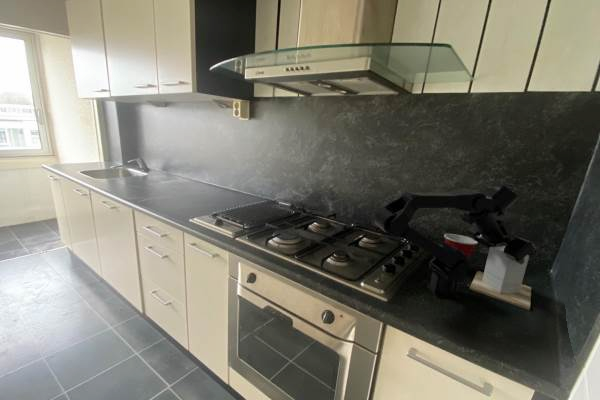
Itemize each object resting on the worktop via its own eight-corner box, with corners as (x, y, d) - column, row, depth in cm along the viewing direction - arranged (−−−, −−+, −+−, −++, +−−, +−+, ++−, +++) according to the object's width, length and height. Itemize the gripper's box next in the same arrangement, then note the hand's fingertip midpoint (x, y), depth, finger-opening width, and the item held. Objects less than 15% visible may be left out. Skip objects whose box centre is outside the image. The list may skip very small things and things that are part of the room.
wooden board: (529, 310, 78) (530, 307, 78) (469, 288, 87) (469, 286, 87) (530, 289, 89) (531, 287, 89) (477, 272, 98) (477, 270, 98)
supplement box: (520, 293, 85) (530, 255, 82) (499, 293, 84) (509, 256, 81) (500, 280, 92) (509, 245, 89) (480, 281, 91) (489, 246, 88)
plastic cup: (470, 265, 104) (476, 236, 101) (472, 278, 94) (480, 245, 92) (438, 258, 109) (444, 229, 106) (438, 269, 99) (444, 238, 96)
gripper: (538, 214, 71) (560, 252, 76) (481, 197, 89) (502, 228, 94) (505, 242, 72) (529, 278, 77) (455, 219, 90) (477, 250, 94)
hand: (508, 256), depth 85 cm, fingers open, 9 cm apart
